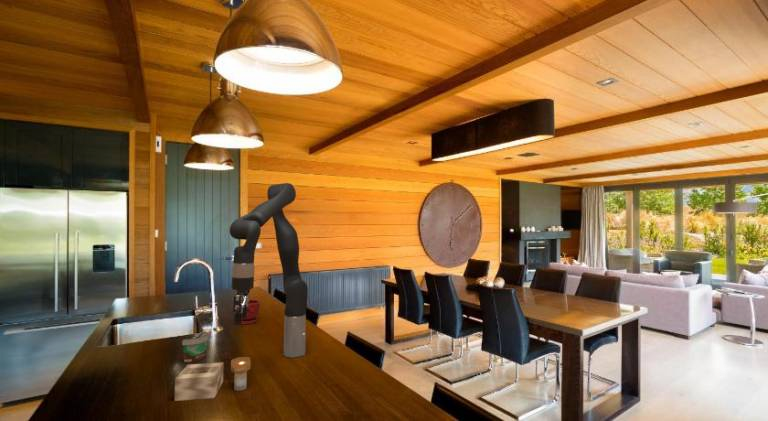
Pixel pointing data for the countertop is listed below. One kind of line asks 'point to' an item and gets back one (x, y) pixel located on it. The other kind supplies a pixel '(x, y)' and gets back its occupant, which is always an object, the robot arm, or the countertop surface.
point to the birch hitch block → (199, 381)
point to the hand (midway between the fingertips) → (240, 320)
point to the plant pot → (251, 312)
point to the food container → (195, 348)
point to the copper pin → (240, 372)
